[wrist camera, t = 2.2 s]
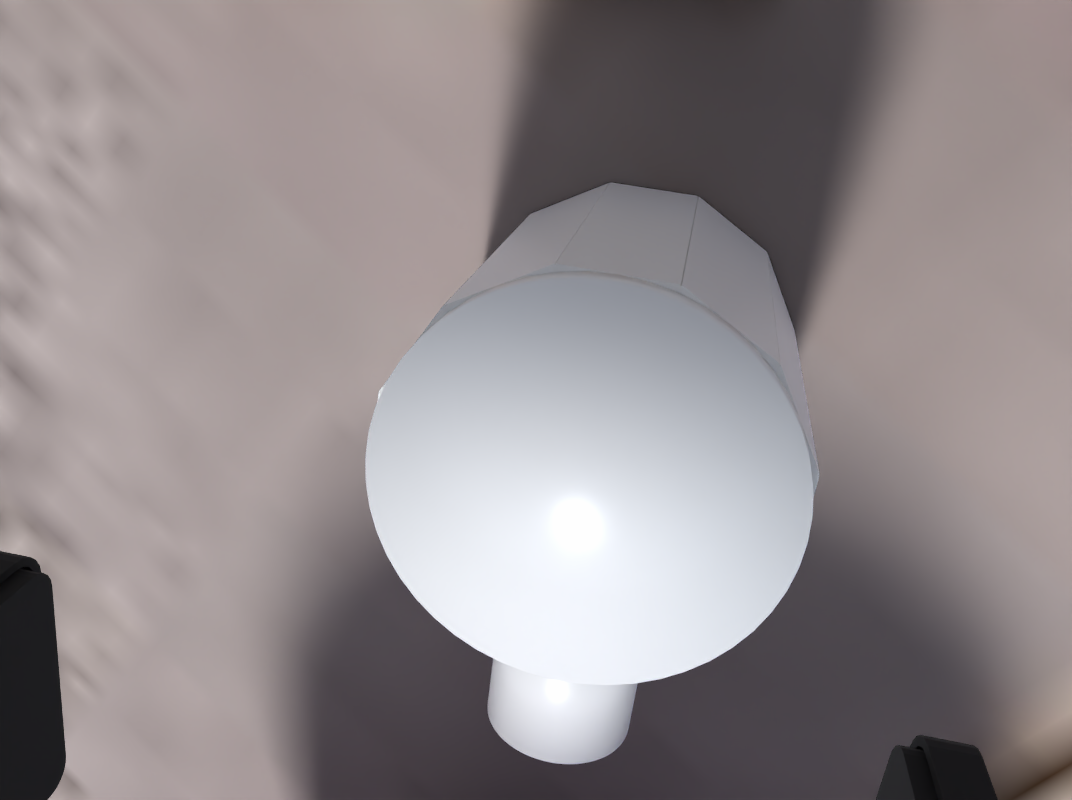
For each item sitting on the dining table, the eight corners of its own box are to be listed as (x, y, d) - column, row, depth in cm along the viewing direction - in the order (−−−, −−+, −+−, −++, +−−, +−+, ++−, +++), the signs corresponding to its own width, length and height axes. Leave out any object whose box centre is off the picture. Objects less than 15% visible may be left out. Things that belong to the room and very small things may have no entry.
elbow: (822, 215, 22) (865, 324, 15) (725, 631, 26) (721, 875, 19) (492, 164, 23) (378, 242, 16) (451, 573, 27) (345, 786, 20)
